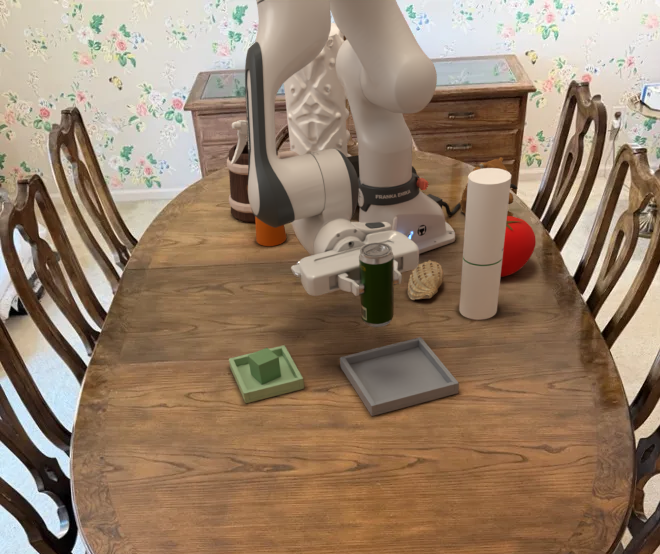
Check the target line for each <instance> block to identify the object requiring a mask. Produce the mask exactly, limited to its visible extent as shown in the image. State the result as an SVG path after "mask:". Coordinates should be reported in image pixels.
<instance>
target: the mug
mask: <svg viewBox="0 0 660 554" xmlns="http://www.w3.org/2000/svg"><path fill="white" fill-rule="evenodd" d="M236 147H237V143H236V144H234V145H233V146H232V147H231V148H230V149H229V150H228V157H227V158H226V168H227V169H228V173H229V174H228V175H229V177H228V178H229V191H230V194H229V196H228V205H229V206H230V213H231V215H232V216H233V217H234V218H235V219H237V220H239V221H241V222H245V223H255V224H256V222H255V216H254V214H253V212H252V209H251V206H250V203H249V198H248V141H247V142H246V145H245V147H244V149H243V151H242V153H241V155H240V156H239V158H238V159H237V161H236V162H235V163H234V164H231V161H232V159H233V156H234V153H235V150H236ZM276 155H277V158H279V159H284V158H289V157H294V156H299V154H297V153H296V152H294V151H291V150H285V151H278V148H277V147H276Z"/></svg>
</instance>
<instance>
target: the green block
mask: <svg viewBox="0 0 660 554" xmlns="http://www.w3.org/2000/svg"><path fill="white" fill-rule="evenodd" d="M254 352H255V353H254ZM254 352H251V353H252V354H250V353H249V354H250V355H248V360H249V366H250V372H251V375H252V376H253V377H254V378H255V379H256V380H258V381H259V382H260V383H261V384H265V383H267V382H269V381H271V380H274V379H276V378H278V377H281V371H280V364H279V357H278V356H277V355H276V354H274V353H273V352H272V351H271V350H270V348H269V347H265V348H262V349H260V350H258V351H254Z"/></svg>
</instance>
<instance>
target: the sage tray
mask: <svg viewBox="0 0 660 554" xmlns="http://www.w3.org/2000/svg"><path fill="white" fill-rule="evenodd" d="M269 349H270V350H271V351H272V352H273V353H274V354H276V355H277V356H278V357H279V364H280V371H281V377H278V378H276V379H274V380H271V381H269V382H267V383H265V384H261V383H260V382H259V381H258V380H256V379H255V378H254V377H253V376H252V375H251V372H250V366H249V360H248V355H250V354H252V353H255V352H256V351H254V352H250V353H247V354H241V355H238V356H233V357H230V358H228V364H229V368H230V371H231V373H232V375H233V378H234V380H235V382H236V385H237V387H238V390H239V392H240V394H241V397H242V398H243V401H244V403H245V404H250V403H253V402H257V401H261V400H264V399H268V398H272V397H277V396H281V395H285V394H288V393H293V392H296V391H301V390H304V389H305V381H304V377H303V375H302V374H301V371H300V370H299V368H298V366H297V365H296V363H295V361H294V359H293V357H292V355H291V354H290V352H289V350H288V349H287V346H286V345H285V344H284V345H283V344H282V345H279V346H275V347H271V348H269Z"/></svg>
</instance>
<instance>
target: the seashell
mask: <svg viewBox="0 0 660 554" xmlns="http://www.w3.org/2000/svg"><path fill="white" fill-rule="evenodd" d="M444 276H445V275H444V270H443V266H442V264H440V263H438V261H436V260H435V261H432V260H431V259H429V260H428V261H423V262H422V263H418V266H417V268H416V269H413V270H411V273H410V275H409V277H408V281H407V296H408V298H409V299H410V300H412V301H415V300H422V299H431V298H432V297H434V295H435V294H437V293H438V292H439V288H440V286H441V285H442V284H443V282H444V279H445V278H444Z"/></svg>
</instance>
